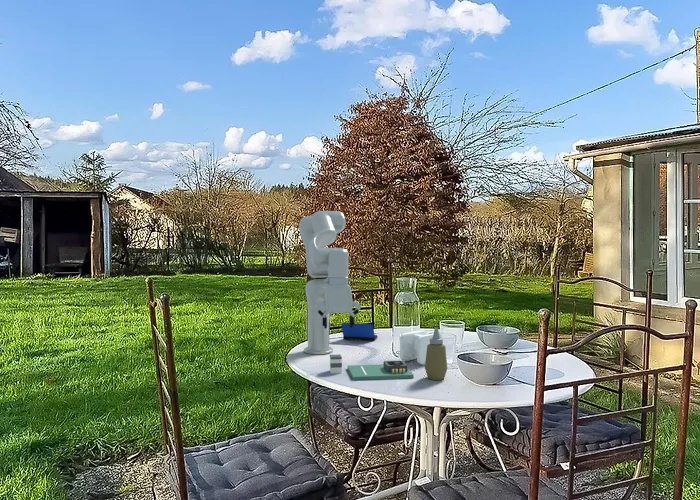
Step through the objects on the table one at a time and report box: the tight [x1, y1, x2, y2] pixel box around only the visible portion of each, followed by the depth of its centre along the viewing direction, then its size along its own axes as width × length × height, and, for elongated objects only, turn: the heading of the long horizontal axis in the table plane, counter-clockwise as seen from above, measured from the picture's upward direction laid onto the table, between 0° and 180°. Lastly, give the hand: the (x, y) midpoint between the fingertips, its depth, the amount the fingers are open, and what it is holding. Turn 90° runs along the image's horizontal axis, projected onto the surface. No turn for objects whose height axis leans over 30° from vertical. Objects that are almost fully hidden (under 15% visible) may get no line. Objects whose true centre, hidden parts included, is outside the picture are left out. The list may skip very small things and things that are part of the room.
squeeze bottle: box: [424, 328, 448, 381], centre depth 194 cm, size 8×8×18 cm
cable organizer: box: [399, 330, 443, 366], centre depth 219 cm, size 15×11×12 cm
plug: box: [329, 354, 343, 374], centre depth 202 cm, size 4×4×6 cm
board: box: [347, 359, 415, 381], centre depth 200 cm, size 16×22×5 cm
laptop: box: [341, 322, 378, 342], centre depth 262 cm, size 16×13×9 cm
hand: (338, 327), depth 202 cm, fingers open, 9 cm apart
